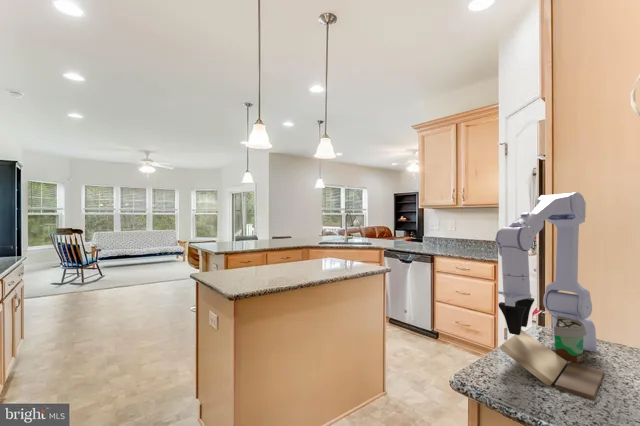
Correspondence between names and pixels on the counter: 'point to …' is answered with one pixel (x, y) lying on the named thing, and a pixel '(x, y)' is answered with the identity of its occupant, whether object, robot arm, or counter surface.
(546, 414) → the counter surface
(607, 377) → the counter surface
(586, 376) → the walnut board
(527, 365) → the oak plank
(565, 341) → the food container
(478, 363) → the counter surface
